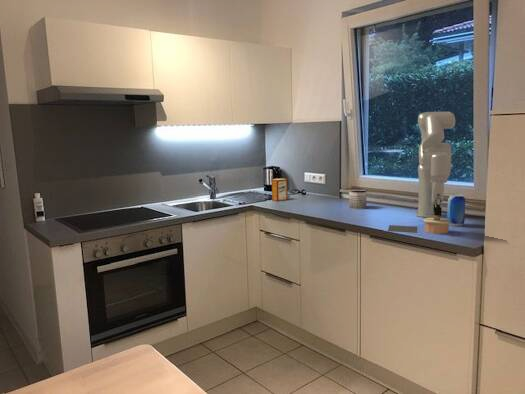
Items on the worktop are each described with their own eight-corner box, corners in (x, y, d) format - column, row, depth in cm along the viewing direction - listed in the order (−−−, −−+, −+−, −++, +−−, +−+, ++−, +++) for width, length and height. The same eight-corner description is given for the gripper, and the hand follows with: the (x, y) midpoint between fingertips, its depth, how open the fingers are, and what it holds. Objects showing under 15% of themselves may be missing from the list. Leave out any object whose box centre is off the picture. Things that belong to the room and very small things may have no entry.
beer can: (459, 223, 233) (460, 193, 231) (467, 226, 225) (468, 196, 222) (444, 223, 233) (445, 194, 231) (451, 226, 225) (452, 196, 222)
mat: (389, 225, 230) (389, 225, 230) (417, 227, 225) (417, 226, 225) (387, 231, 217) (387, 231, 217) (417, 233, 212) (417, 232, 212)
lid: (423, 218, 222) (423, 207, 221) (449, 219, 218) (450, 208, 217) (423, 223, 210) (424, 211, 209) (451, 224, 206) (452, 213, 205)
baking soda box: (282, 199, 325) (281, 177, 322) (287, 200, 320) (287, 178, 317) (272, 200, 319) (271, 179, 317) (277, 201, 314) (277, 179, 312)
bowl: (424, 228, 221) (425, 218, 221) (447, 230, 218) (448, 220, 217) (425, 233, 211) (425, 223, 211) (449, 235, 208) (449, 224, 207)
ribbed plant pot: (347, 208, 280) (348, 190, 279) (350, 205, 291) (350, 188, 289) (365, 209, 277) (366, 191, 275) (367, 206, 287) (367, 188, 286)
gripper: (430, 176, 220) (428, 210, 223) (430, 180, 204) (429, 216, 206) (446, 177, 217) (444, 210, 220) (448, 181, 201) (446, 217, 204)
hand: (437, 213), depth 213 cm, fingers open, 9 cm apart
